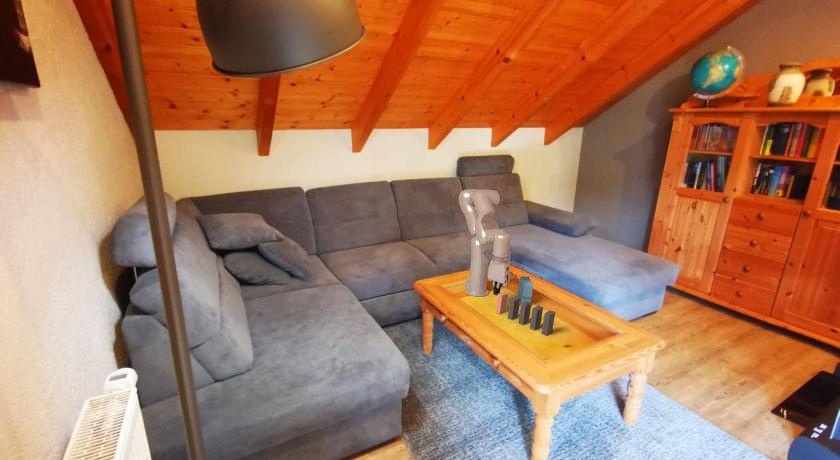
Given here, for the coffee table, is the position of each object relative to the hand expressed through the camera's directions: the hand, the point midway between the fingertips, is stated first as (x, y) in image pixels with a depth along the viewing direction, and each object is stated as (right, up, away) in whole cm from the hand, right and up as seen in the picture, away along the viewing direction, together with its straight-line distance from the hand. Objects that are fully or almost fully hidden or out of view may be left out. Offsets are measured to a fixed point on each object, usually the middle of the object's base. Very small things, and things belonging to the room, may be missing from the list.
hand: (496, 294), depth 196 cm
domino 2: (+7, -10, -5) cm, 13 cm away
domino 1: (+2, -9, 0) cm, 9 cm away
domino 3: (+11, -12, -9) cm, 19 cm away
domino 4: (+15, -13, -13) cm, 24 cm away
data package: (+17, -6, +15) cm, 24 cm away
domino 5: (+19, -14, -18) cm, 30 cm away
